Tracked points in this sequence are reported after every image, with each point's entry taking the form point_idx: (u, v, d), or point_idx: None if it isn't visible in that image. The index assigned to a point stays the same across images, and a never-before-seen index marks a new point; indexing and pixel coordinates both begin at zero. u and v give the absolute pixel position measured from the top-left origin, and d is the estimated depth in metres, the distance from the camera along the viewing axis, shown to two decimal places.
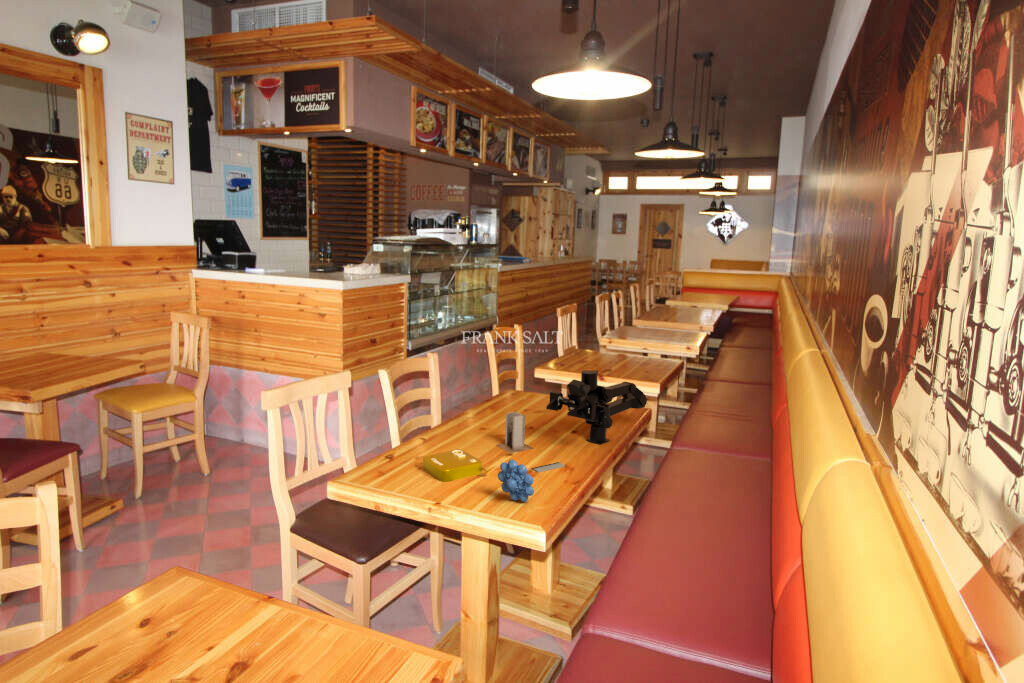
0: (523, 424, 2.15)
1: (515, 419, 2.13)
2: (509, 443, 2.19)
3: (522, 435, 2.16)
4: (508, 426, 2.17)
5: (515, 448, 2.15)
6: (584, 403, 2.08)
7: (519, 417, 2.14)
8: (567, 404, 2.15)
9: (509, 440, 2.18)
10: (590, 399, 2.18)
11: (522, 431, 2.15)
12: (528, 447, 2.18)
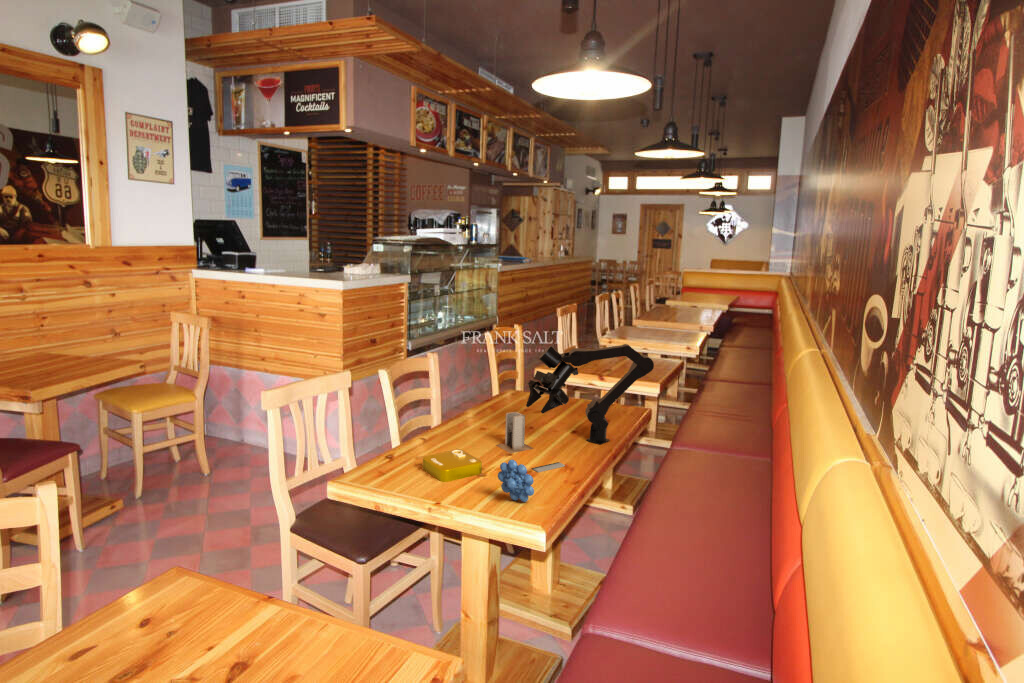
0: (523, 424, 2.15)
1: (515, 419, 2.13)
2: (509, 443, 2.19)
3: (522, 435, 2.16)
4: (508, 426, 2.17)
5: (515, 448, 2.15)
6: (552, 395, 2.15)
7: (519, 417, 2.14)
8: (544, 392, 2.24)
9: (509, 440, 2.18)
10: (562, 376, 2.22)
11: (522, 431, 2.15)
12: (528, 447, 2.18)
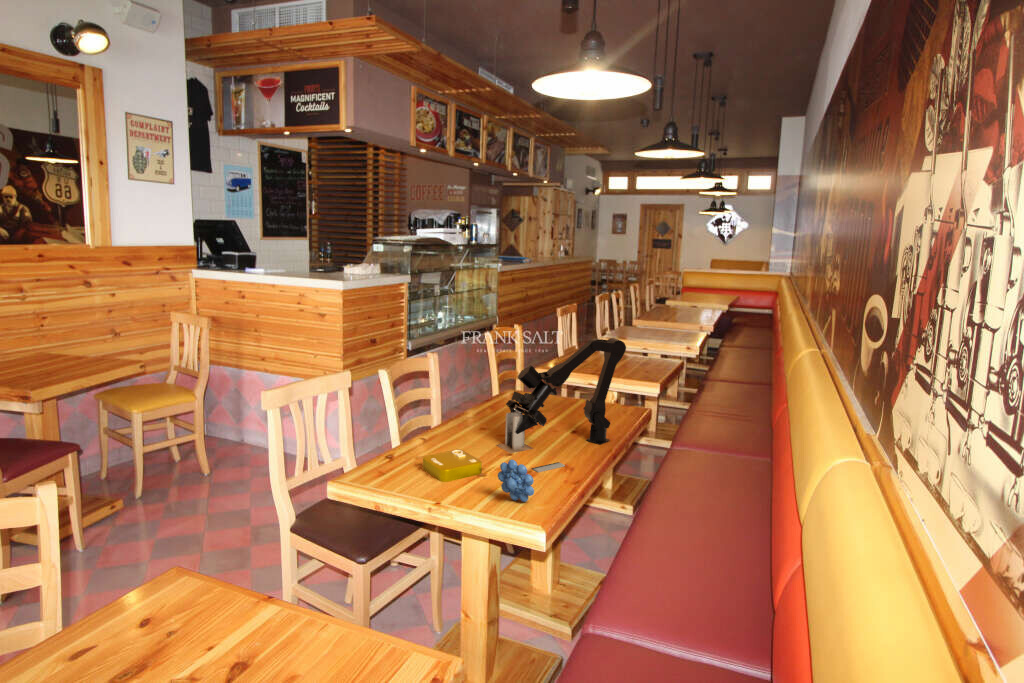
0: None
1: (515, 419, 2.13)
2: (509, 443, 2.19)
3: (522, 435, 2.16)
4: (508, 426, 2.17)
5: (515, 448, 2.15)
6: (526, 415, 2.12)
7: (519, 417, 2.14)
8: (522, 412, 2.20)
9: (509, 440, 2.18)
10: (540, 396, 2.18)
11: None
12: (528, 447, 2.18)
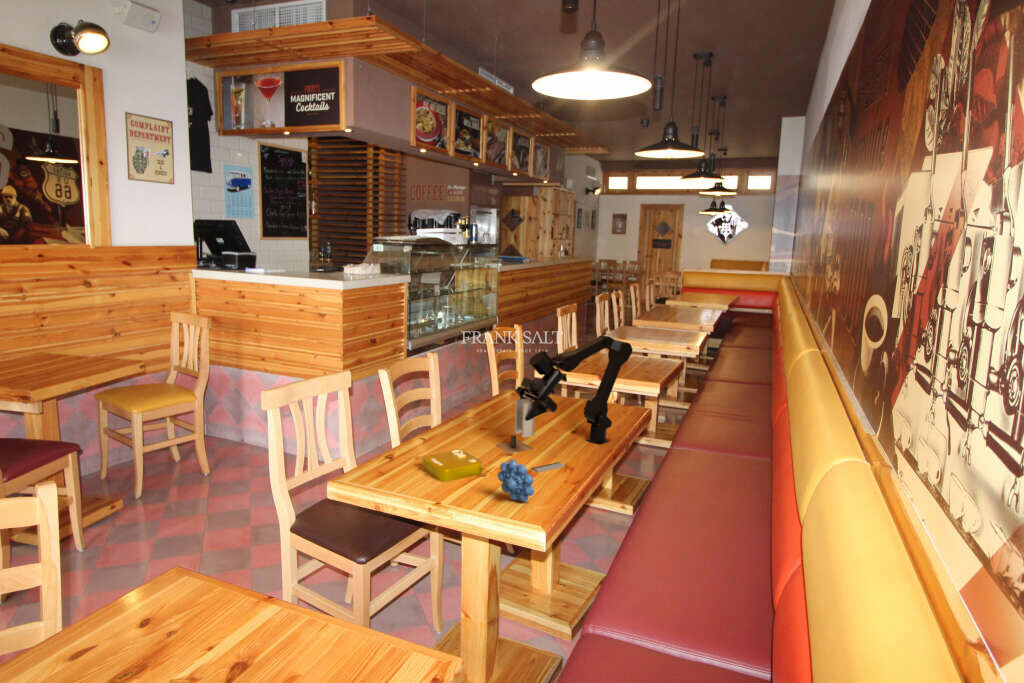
0: None
1: (524, 405, 2.07)
2: (519, 430, 2.13)
3: (532, 422, 2.10)
4: (517, 413, 2.12)
5: (525, 435, 2.09)
6: (536, 402, 2.07)
7: (529, 403, 2.08)
8: (532, 399, 2.14)
9: (518, 427, 2.13)
10: (551, 382, 2.12)
11: (532, 418, 2.10)
12: (528, 447, 2.18)
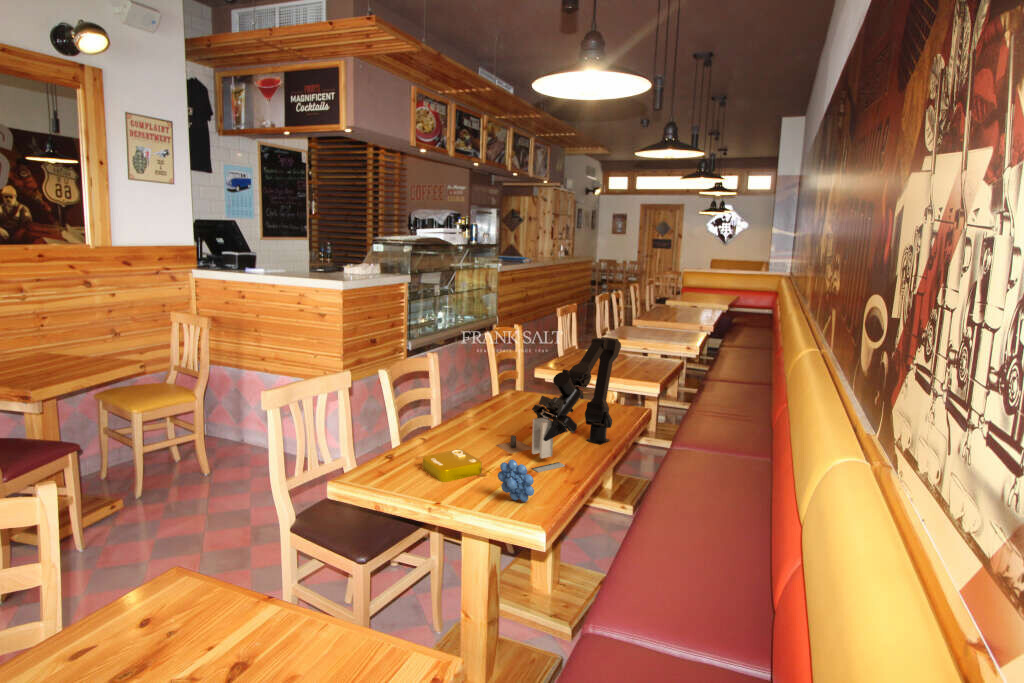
0: None
1: (543, 425, 1.99)
2: (536, 451, 2.05)
3: (550, 442, 2.02)
4: (535, 433, 2.03)
5: (543, 456, 2.01)
6: (555, 421, 1.98)
7: (547, 423, 2.00)
8: (550, 418, 2.06)
9: (536, 448, 2.04)
10: (570, 401, 2.04)
11: None
12: (528, 447, 2.18)
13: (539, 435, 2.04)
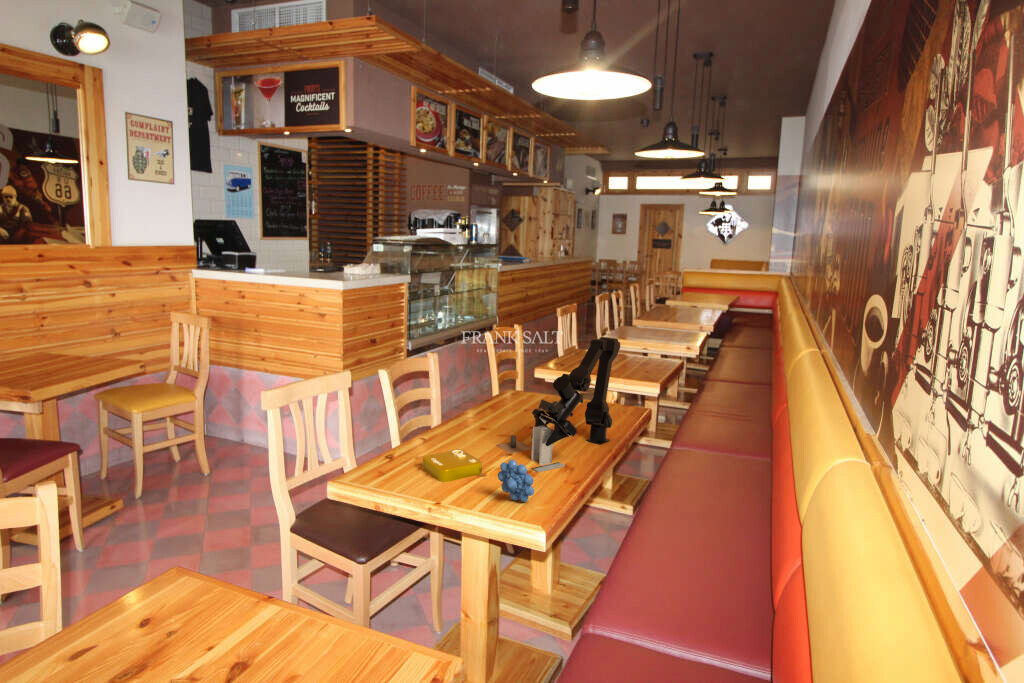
0: None
1: (543, 433, 1.99)
2: (535, 459, 2.05)
3: (550, 451, 2.02)
4: (535, 441, 2.04)
5: (542, 464, 2.01)
6: (557, 426, 1.98)
7: (547, 431, 2.00)
8: (549, 422, 2.06)
9: (535, 455, 2.05)
10: (569, 405, 2.04)
11: (550, 446, 2.02)
12: (528, 447, 2.18)
13: (539, 443, 2.05)
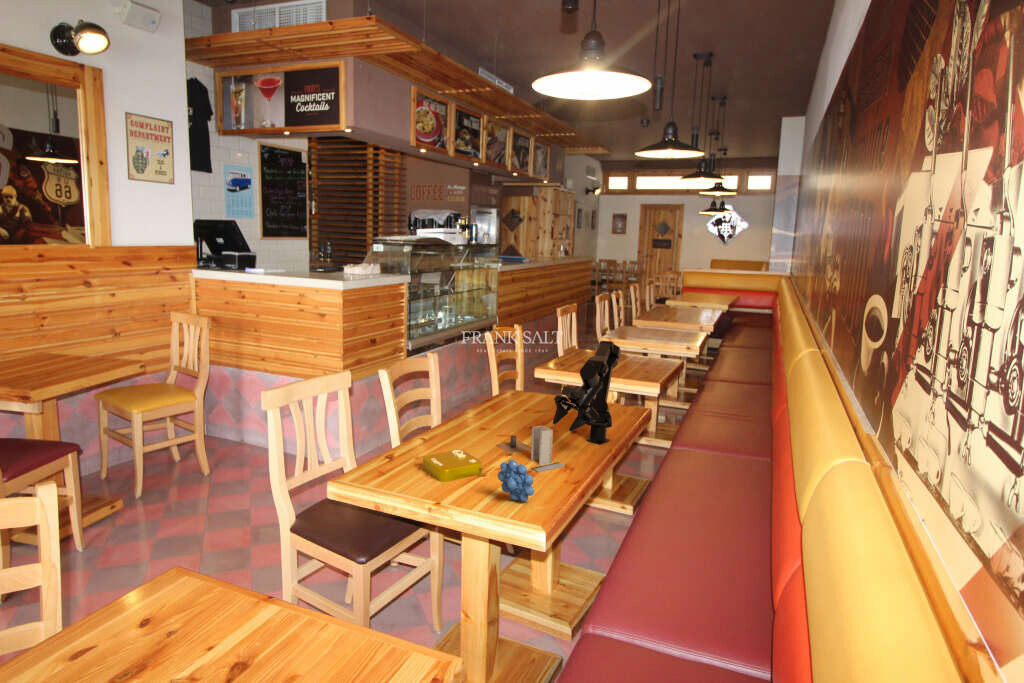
0: (551, 439, 2.01)
1: (542, 434, 1.99)
2: (535, 459, 2.05)
3: (549, 451, 2.02)
4: (534, 441, 2.04)
5: None
6: (580, 412, 2.02)
7: (546, 432, 2.00)
8: (571, 408, 2.10)
9: (535, 456, 2.05)
10: (591, 391, 2.09)
11: (549, 446, 2.02)
12: (528, 447, 2.18)
13: (538, 443, 2.05)
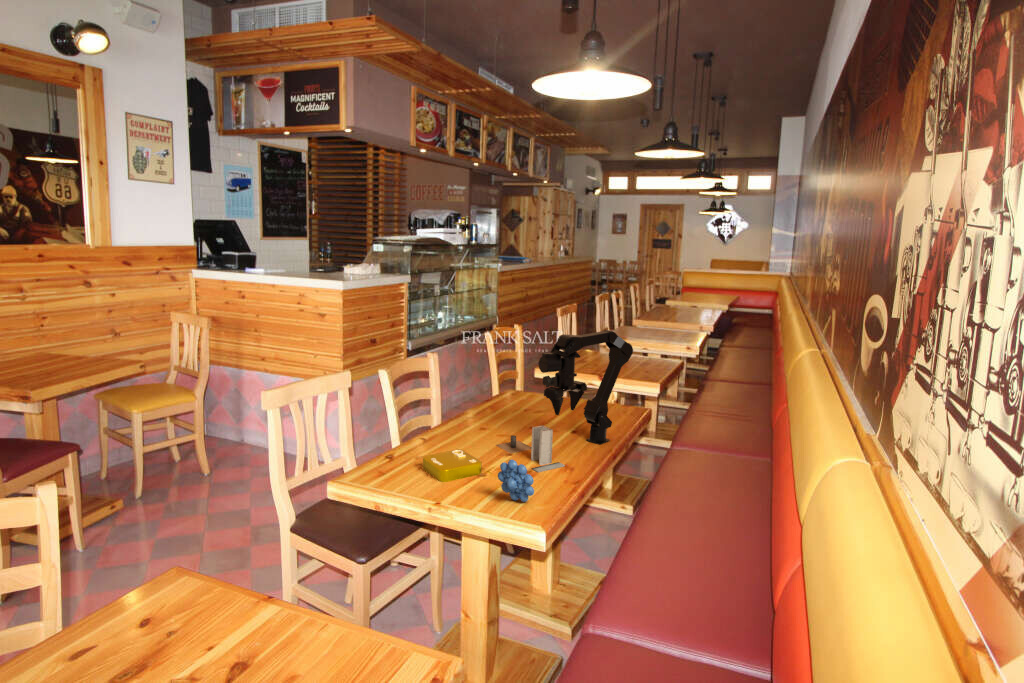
0: (551, 439, 2.01)
1: (542, 434, 1.99)
2: (535, 459, 2.05)
3: (549, 451, 2.02)
4: (534, 441, 2.04)
5: None
6: None
7: (546, 432, 2.00)
8: None
9: (535, 456, 2.05)
10: (559, 370, 2.16)
11: (549, 446, 2.02)
12: (528, 447, 2.18)
13: (538, 443, 2.05)
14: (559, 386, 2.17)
